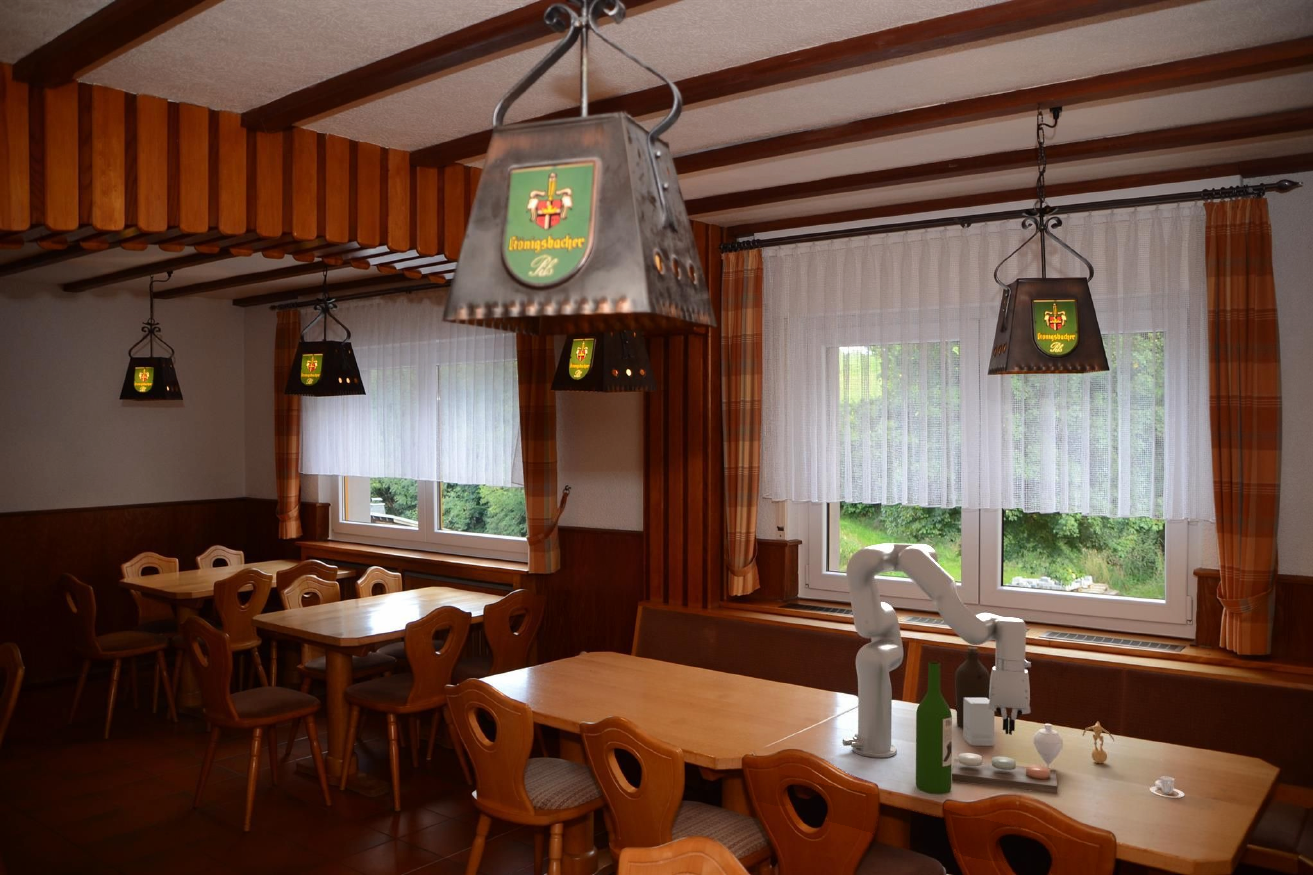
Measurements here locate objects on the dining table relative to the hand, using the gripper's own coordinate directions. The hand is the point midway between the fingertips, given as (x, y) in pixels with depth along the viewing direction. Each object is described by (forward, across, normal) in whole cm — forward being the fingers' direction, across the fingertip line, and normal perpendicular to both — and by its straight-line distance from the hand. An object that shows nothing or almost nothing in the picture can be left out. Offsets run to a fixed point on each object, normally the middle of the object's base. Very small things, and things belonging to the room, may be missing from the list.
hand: (1008, 732), depth 258 cm
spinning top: (+13, -11, -14) cm, 22 cm away
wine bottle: (+13, +18, +14) cm, 26 cm away
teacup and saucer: (+13, -41, -6) cm, 44 cm away
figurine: (+12, -24, -23) cm, 36 cm away
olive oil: (+13, +10, -49) cm, 51 cm away
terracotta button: (+10, -7, 0) cm, 13 cm away
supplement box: (+13, +8, -32) cm, 35 cm away
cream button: (+9, +10, 0) cm, 13 cm away
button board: (+12, +1, 0) cm, 13 cm away
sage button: (+9, +1, 0) cm, 9 cm away
